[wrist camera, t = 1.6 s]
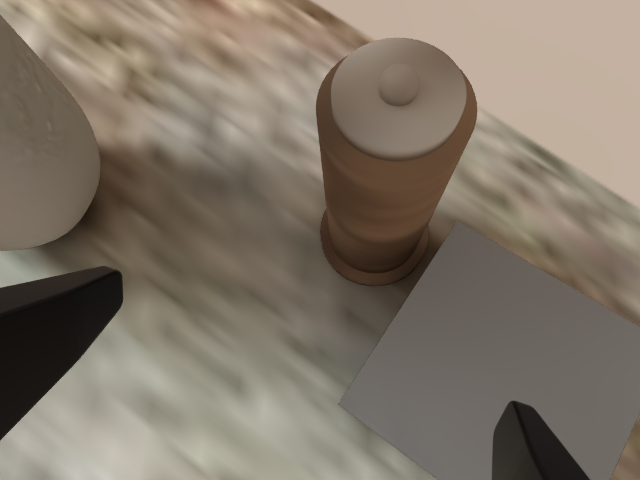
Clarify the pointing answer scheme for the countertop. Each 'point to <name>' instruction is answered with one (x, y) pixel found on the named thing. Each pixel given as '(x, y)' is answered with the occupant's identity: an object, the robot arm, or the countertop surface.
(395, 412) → the slate block
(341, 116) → the pepper mill
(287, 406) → the countertop surface
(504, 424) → the robot arm
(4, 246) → the grey bottle
